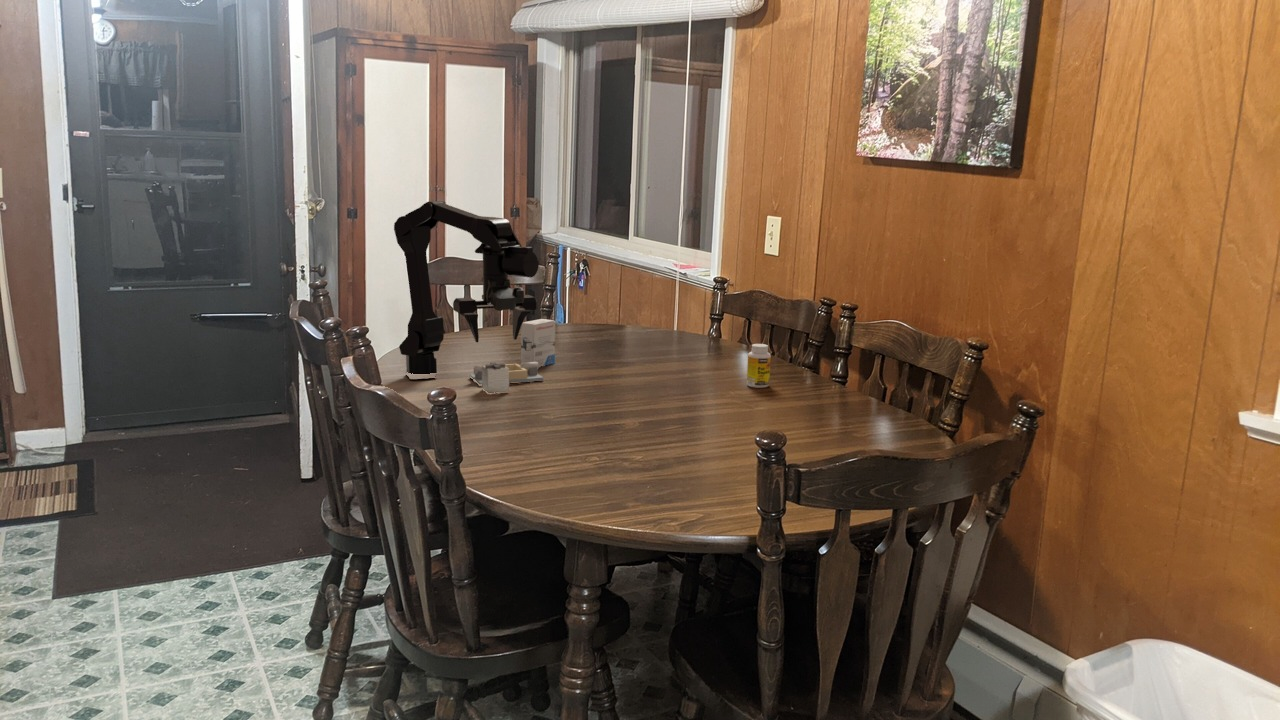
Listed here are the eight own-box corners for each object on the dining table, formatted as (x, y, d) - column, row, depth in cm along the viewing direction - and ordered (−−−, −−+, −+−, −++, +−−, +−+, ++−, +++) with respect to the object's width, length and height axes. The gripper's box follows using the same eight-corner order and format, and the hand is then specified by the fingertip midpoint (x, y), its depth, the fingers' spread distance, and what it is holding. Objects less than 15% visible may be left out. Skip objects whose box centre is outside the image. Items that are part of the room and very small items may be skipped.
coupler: (488, 395, 231) (488, 367, 230) (482, 390, 235) (481, 363, 234) (509, 393, 233) (508, 365, 232) (502, 388, 237) (502, 361, 236)
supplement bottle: (756, 389, 242) (758, 348, 240) (741, 384, 247) (743, 344, 245) (773, 386, 245) (776, 346, 243) (759, 382, 250) (761, 342, 248)
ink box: (542, 361, 268) (542, 318, 266) (556, 363, 265) (556, 320, 263) (519, 366, 261) (519, 322, 259) (534, 369, 258) (534, 324, 256)
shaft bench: (480, 386, 239) (479, 370, 238) (469, 378, 247) (469, 362, 246) (543, 381, 245) (543, 365, 244) (531, 373, 253) (531, 358, 252)
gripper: (466, 280, 218) (467, 350, 221) (546, 276, 226) (546, 344, 229) (451, 273, 227) (453, 341, 231) (529, 270, 236) (529, 335, 239)
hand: (496, 340), depth 232 cm, fingers open, 9 cm apart
